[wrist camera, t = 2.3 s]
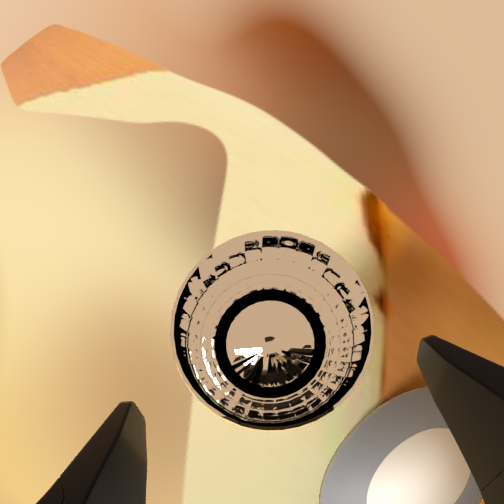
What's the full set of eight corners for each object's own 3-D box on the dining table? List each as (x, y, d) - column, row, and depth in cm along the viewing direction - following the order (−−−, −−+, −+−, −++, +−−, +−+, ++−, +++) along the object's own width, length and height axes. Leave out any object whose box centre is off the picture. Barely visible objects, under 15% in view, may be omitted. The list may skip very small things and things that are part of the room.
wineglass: (327, 320, 18) (411, 244, 7) (301, 411, 16) (358, 474, 5) (236, 295, 19) (197, 187, 8) (207, 384, 17) (116, 401, 6)
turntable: (425, 564, 10) (430, 569, 9) (276, 527, 13) (277, 534, 12) (515, 417, 14) (522, 418, 13) (391, 352, 17) (397, 351, 16)
